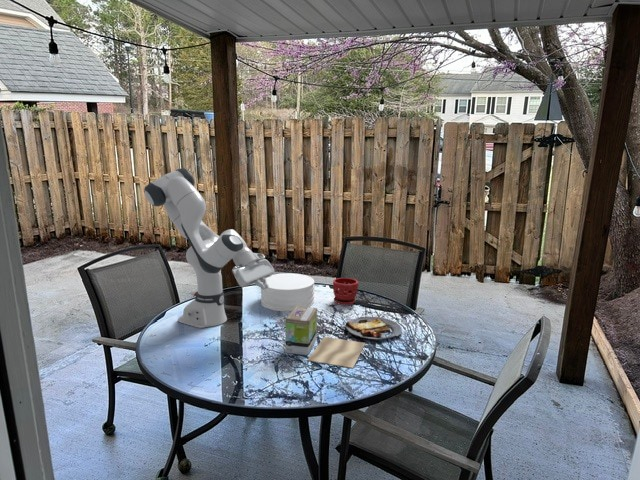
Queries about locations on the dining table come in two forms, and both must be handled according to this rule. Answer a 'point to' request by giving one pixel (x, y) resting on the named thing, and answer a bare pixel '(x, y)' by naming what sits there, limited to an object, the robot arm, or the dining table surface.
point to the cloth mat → (337, 352)
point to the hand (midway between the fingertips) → (265, 288)
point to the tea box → (301, 330)
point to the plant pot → (345, 290)
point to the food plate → (373, 327)
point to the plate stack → (288, 292)
